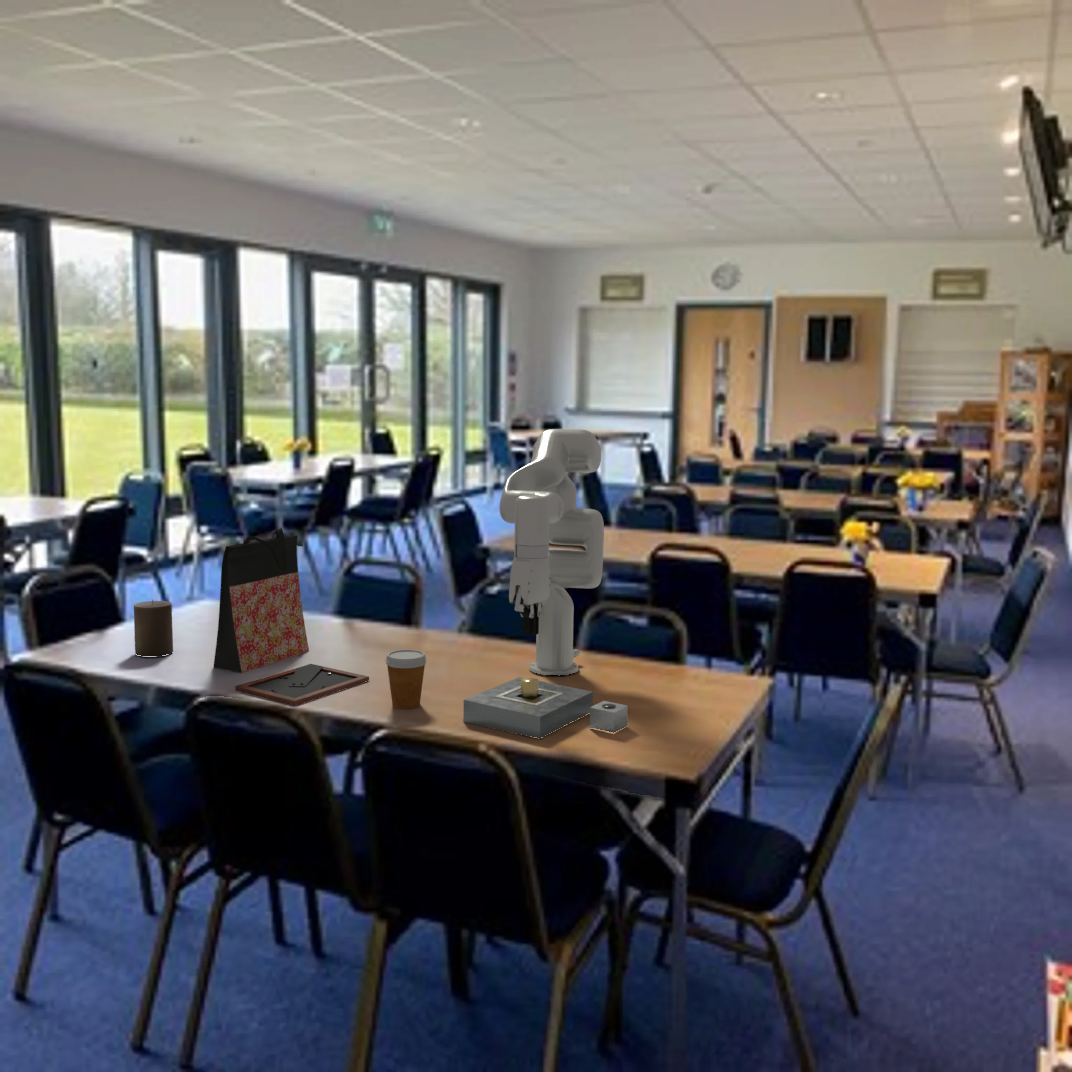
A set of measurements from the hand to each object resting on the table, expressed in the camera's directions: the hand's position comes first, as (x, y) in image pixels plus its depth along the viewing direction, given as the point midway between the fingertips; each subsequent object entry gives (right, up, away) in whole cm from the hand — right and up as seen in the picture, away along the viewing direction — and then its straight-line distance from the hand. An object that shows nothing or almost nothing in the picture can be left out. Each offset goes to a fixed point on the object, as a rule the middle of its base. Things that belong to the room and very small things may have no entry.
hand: (530, 633), depth 230 cm
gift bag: (-70, -11, +49) cm, 86 cm away
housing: (+17, -20, -4) cm, 27 cm away
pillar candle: (-102, -10, +51) cm, 115 cm away
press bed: (0, -19, +3) cm, 19 cm away
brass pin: (0, -15, +2) cm, 16 cm away
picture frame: (-55, -16, +24) cm, 62 cm away
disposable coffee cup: (-29, -18, +10) cm, 35 cm away
